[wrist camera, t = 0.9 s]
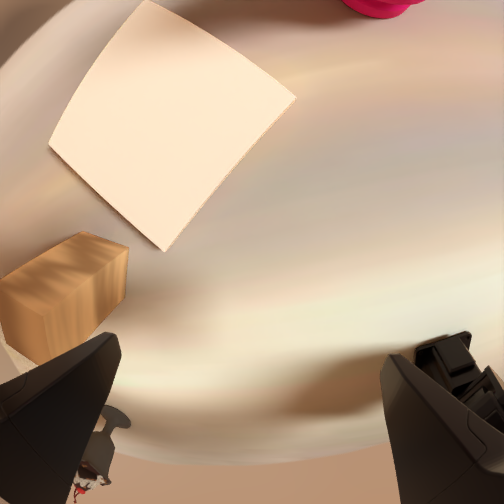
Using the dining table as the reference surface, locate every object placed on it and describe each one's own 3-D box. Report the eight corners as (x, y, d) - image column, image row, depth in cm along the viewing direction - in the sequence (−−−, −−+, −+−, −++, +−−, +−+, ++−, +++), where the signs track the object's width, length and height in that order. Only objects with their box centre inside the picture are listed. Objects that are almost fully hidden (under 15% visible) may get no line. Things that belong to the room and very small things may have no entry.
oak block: (129, 247, 23) (43, 316, 13) (124, 297, 25) (55, 375, 15) (82, 231, 23) (-8, 284, 13) (81, 279, 25) (6, 343, 15)
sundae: (111, 429, 34) (72, 504, 20) (86, 399, 32) (36, 477, 18) (145, 433, 33) (108, 519, 19) (120, 401, 31) (69, 493, 17)
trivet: (295, 100, 18) (296, 97, 16) (171, 245, 22) (164, 252, 21) (153, 5, 16) (145, -2, 14) (59, 142, 20) (47, 144, 19)
